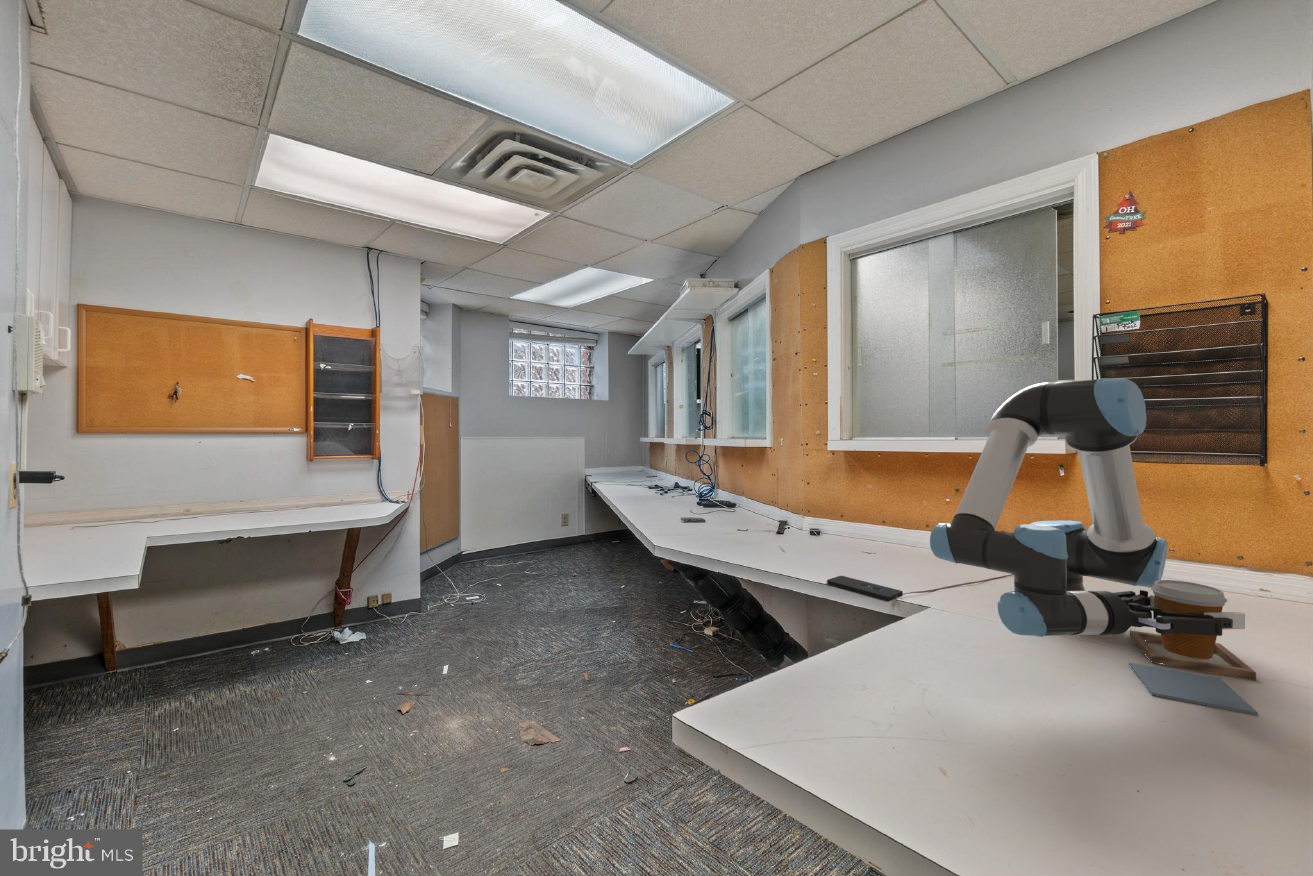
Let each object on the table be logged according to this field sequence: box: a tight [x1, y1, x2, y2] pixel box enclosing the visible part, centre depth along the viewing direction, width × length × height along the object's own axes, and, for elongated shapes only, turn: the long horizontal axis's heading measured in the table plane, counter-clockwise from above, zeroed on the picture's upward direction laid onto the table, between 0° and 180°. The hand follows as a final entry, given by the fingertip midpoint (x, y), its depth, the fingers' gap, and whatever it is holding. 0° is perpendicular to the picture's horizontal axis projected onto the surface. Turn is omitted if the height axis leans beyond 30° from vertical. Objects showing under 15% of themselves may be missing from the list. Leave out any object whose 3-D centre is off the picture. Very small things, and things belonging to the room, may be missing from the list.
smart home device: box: [826, 575, 903, 602], centre depth 149 cm, size 8×2×20 cm
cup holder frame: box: [1128, 629, 1257, 681], centre depth 104 cm, size 14×14×2 cm
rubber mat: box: [1128, 662, 1259, 716], centre depth 92 cm, size 13×13×1 cm
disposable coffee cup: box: [1150, 579, 1228, 660], centre depth 91 cm, size 10×10×12 cm
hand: (1212, 610), depth 92 cm, fingers closed on disposable coffee cup, 8 cm apart
